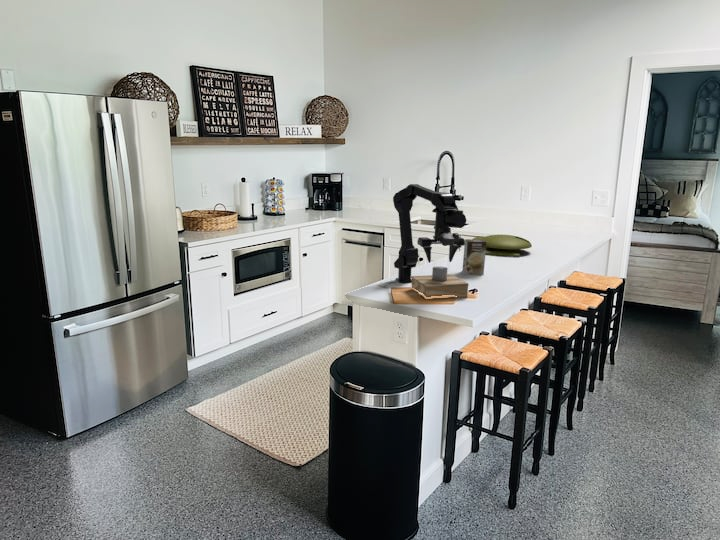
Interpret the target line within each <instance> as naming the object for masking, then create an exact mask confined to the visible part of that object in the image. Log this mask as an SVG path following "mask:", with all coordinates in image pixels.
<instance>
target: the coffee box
mask: <svg viewBox="0 0 720 540" xmlns="http://www.w3.org/2000/svg"><path fill="white" fill-rule="evenodd" d="M473 239H474V238H472V239H468V238H467V239H466V238H464V240H465V245H464V249H463V259H462V273H463V274H465V275H475V276H476V275H477V276H478V275H480V276H481V275H484V274H485V262H486V255H485V253H486V241H484V240H473Z"/></svg>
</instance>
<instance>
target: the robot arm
mask: <svg viewBox="0 0 720 540" xmlns="http://www.w3.org/2000/svg"><path fill="white" fill-rule="evenodd" d="M417 197H419V198H421V199H424V200H427V201H429V202H430V203H431V205H432V206H434V207H435V208H433V209H432V211H431V212H432V213H435V220H434V221H435V222H434V225H433V229H434V235H433V236H432V238H433V239H431V238H429V237H427V236H425V237H418V238H417V243H416V244H417V245H418V246H420V247H422V248H423V250H424V253H425V256H426V259H427V263H431V261H432V260H431V259H432V258H431V257H432V249H433V247H432V245H433V244H434V245H442V246H444V247H446V246H447V247H449V253H448V259H449V260H448V261H449V262H450V263H451V262H452V261H453V259H454V256H455V254H456V252H457V250H458V249H460V248H462V246H465V238H463V237H461V236H460V234H459V232H453V233H452V232H451V227H453V228H458V229H462V228H464V227H465V226H466V223H467V218H466V215H465V214H464V210H461V209H460V210H459V208H458V205H457V204H456V200H455V199H454V196H453V194H452V193H450V192H441V191H440V192H438V191H435V190H432V189H430V188H428V187H425V186H422V185H420V184H418V183H413V184H412V183H410V184H409V185H407V186H405V188H402V189H401V190H399V191H398V192H395V194H394V195H393V197H392V201H393V207H394V209H395V210H396V211H397V213H398V223H399V232H400V234H399V235H400V244H401V245H400V248H399V250H398V257H397V258H396V260H395V261H394V262H393V266H394V268H395V269H398V272H397V273H398V274H397V276H398V277H396V278H395V280H396V281H397V282H399V283H401V282H402V283H410V282H409V281H412V278H411V276H412V268H416V266H417V263H418V261H419V258H420V256H419V248H417V247H415V245H414V243H413V232H412V222H411V211H412V207H413V205H414V204H413V202H414V200H416V199H417Z"/></svg>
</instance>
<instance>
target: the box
mask: <svg viewBox="0 0 720 540" xmlns="http://www.w3.org/2000/svg"><path fill="white" fill-rule="evenodd" d="M411 279H412V282H411V287H412V288H414V289H416V290H418V291H419V292H421V293H423V294H424V295H425V296H426V297H431V296H442V295H455V296H457V298H456V299H460V298H468V291H469V285H461V286H442V287H425V286H423V285H422V284H420V283H419V282H417V281H416V280H414V279H413V278H411Z"/></svg>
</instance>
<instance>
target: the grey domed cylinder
mask: <svg viewBox="0 0 720 540" xmlns="http://www.w3.org/2000/svg"><path fill="white" fill-rule="evenodd" d="M431 272H432V273H431V274H432V280H433V281H437V282H445V281H447V275H448V267H445V266H433V267H432V271H431Z"/></svg>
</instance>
